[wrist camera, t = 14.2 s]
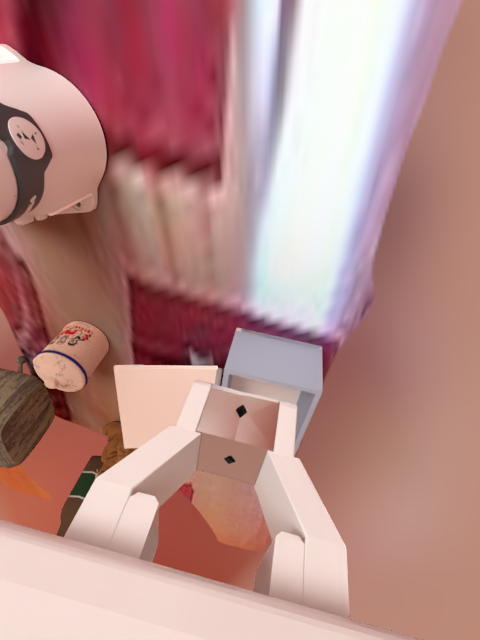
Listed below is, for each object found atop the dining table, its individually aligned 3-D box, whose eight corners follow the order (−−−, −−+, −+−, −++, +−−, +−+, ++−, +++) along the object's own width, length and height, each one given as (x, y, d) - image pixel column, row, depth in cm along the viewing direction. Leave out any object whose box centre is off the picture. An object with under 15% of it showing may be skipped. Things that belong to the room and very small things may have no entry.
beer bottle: (118, 473, 95) (69, 577, 76) (91, 467, 95) (35, 568, 76) (115, 458, 90) (62, 565, 71) (87, 451, 90) (26, 555, 72)
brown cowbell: (13, 348, 70) (-106, 462, 50) (55, 357, 69) (-49, 476, 50) (32, 394, 79) (-62, 506, 59) (70, 403, 78) (-13, 519, 58)
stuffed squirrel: (102, 427, 82) (71, 480, 71) (133, 405, 74) (103, 461, 64) (136, 448, 85) (111, 502, 75) (169, 430, 77) (146, 487, 67)
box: (293, 420, 68) (290, 465, 60) (223, 404, 68) (212, 446, 61) (322, 346, 55) (322, 391, 48) (236, 327, 56) (224, 368, 49)
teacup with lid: (98, 317, 60) (59, 364, 51) (118, 356, 66) (86, 405, 56) (41, 320, 63) (-5, 364, 54) (65, 357, 68) (26, 403, 59)
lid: (123, 451, 58) (125, 444, 59) (211, 448, 60) (210, 441, 62) (112, 371, 46) (114, 364, 47) (222, 372, 48) (221, 365, 49)
